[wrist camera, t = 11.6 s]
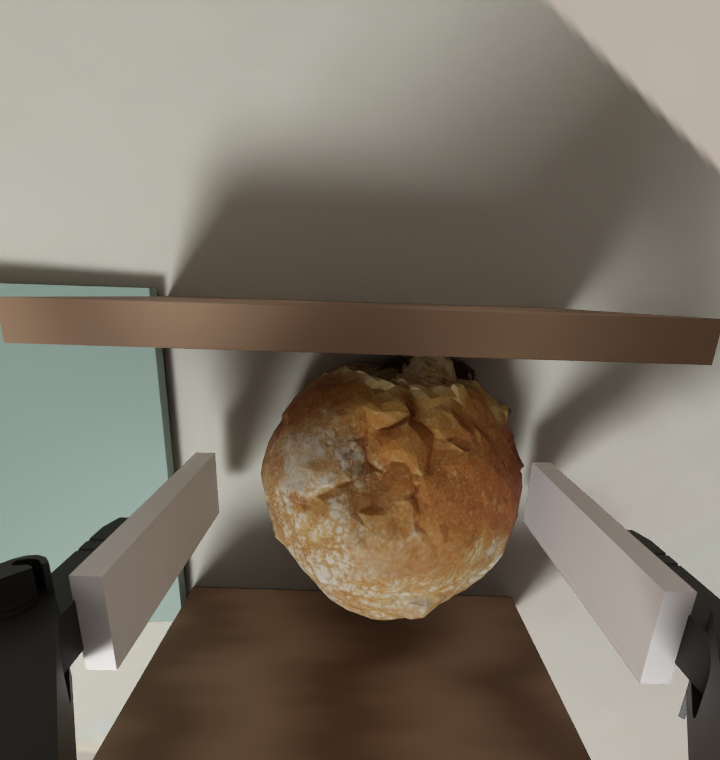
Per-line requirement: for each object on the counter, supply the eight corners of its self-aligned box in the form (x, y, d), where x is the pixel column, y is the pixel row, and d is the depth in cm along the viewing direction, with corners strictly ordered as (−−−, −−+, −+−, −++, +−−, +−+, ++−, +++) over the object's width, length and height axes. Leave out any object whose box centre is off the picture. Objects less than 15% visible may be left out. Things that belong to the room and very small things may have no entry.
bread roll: (276, 408, 20) (168, 533, 13) (410, 276, 14) (333, 383, 7) (404, 520, 21) (364, 683, 15) (573, 445, 15) (631, 659, 9)
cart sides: (554, 308, 15) (723, 319, 8) (508, 613, 18) (597, 808, 11) (167, 296, 15) (-5, 296, 8) (194, 604, 18) (92, 792, 11)
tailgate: (148, 288, 14) (-75, 281, 13) (182, 620, 17) (6, 625, 17) (156, 288, 14) (-57, 281, 14) (187, 610, 18) (18, 614, 17)
